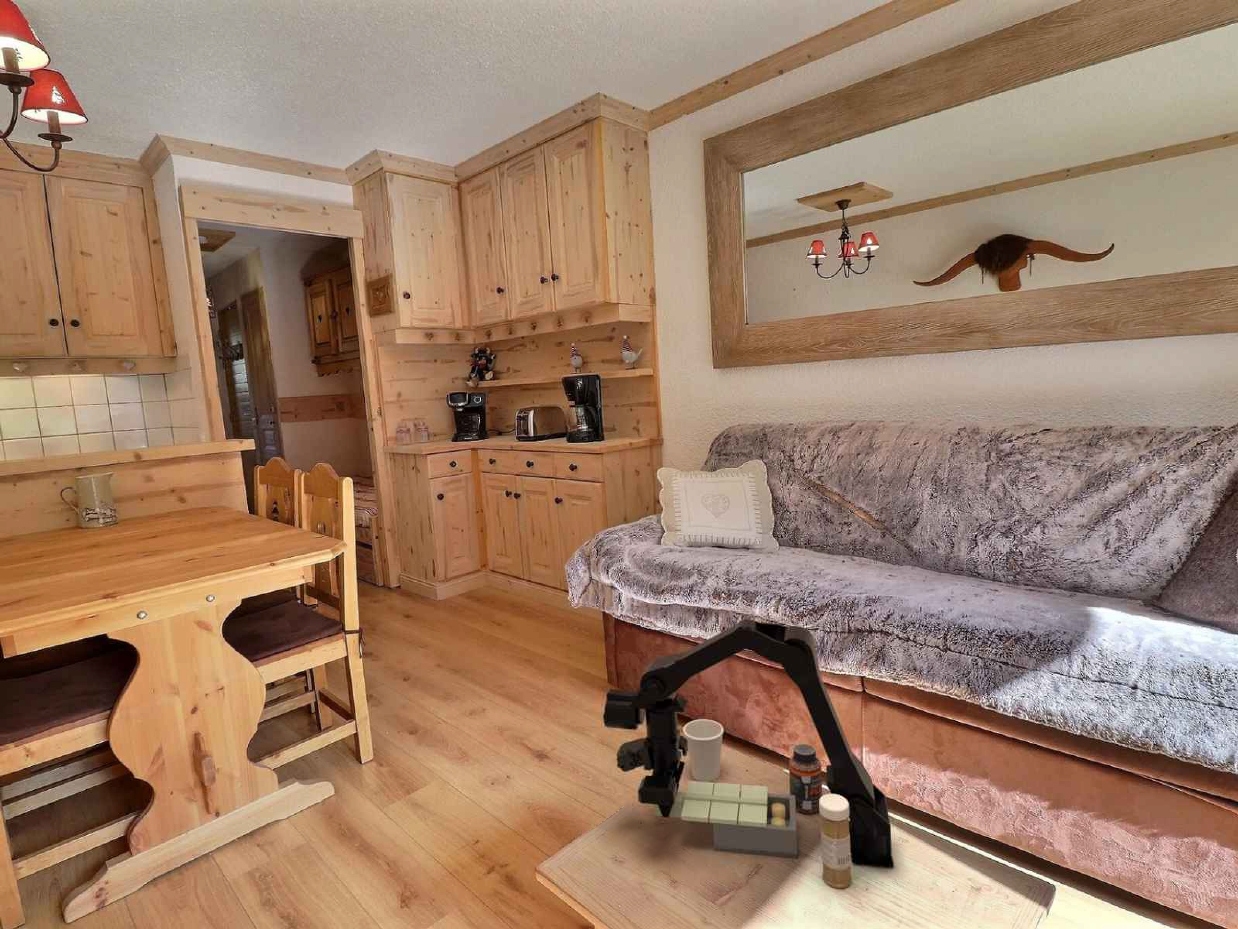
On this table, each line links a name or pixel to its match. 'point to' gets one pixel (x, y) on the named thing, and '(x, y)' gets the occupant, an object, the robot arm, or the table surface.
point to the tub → (763, 831)
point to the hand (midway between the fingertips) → (667, 811)
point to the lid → (721, 804)
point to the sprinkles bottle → (835, 840)
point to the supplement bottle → (805, 778)
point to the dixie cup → (704, 748)
